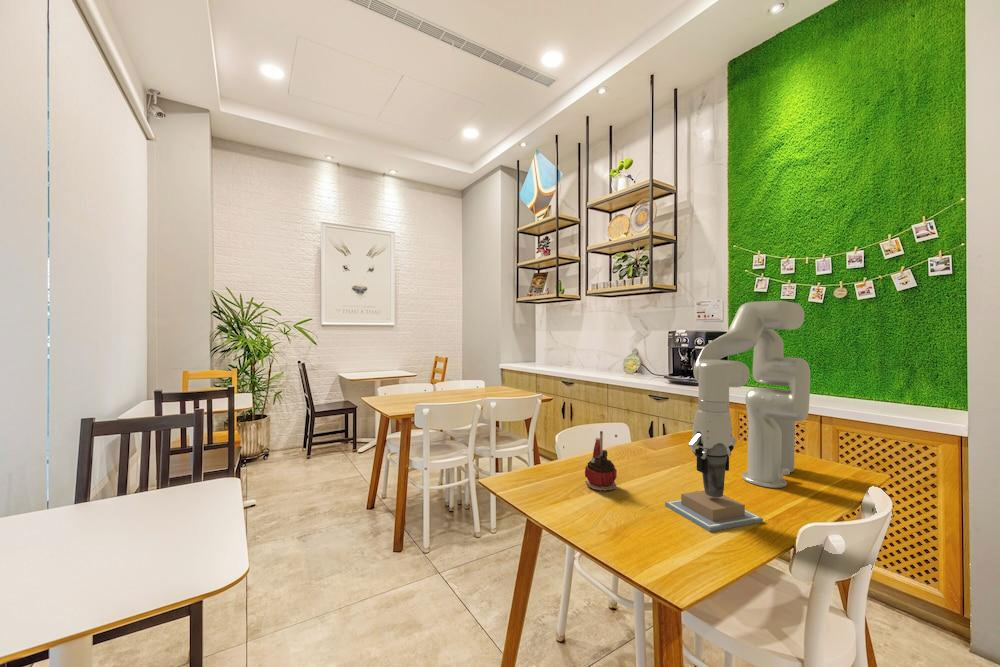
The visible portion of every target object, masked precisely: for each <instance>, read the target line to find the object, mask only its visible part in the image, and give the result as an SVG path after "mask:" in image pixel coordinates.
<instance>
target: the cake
mask: <svg viewBox="0 0 1000 667" xmlns="http://www.w3.org/2000/svg"><path fill="white" fill-rule="evenodd" d="M603 435H604V434H603V431H602V430H600V431H599V437H596V438H595V443H594V447H593V452H592V453H593V454H592V457H591V459H590V461H589V462H588V463H587V465H586V466H585V468H584V469H585V470H584V476H585V478H587V479H586V480H585V485H586V486H587V487H588V488H592V489H594V490H596V491H597V490H598V491H610V490H611V491H612V490H615V489H616V487H617V483H616V482H615V480H616V479H617V472H618V471H617V469H616V467H615V464H614V463H613V462H612V461H611V459H608V450H605V449H603V444H604V443H603V439H604V438H603V437H604V436H603Z"/></svg>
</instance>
